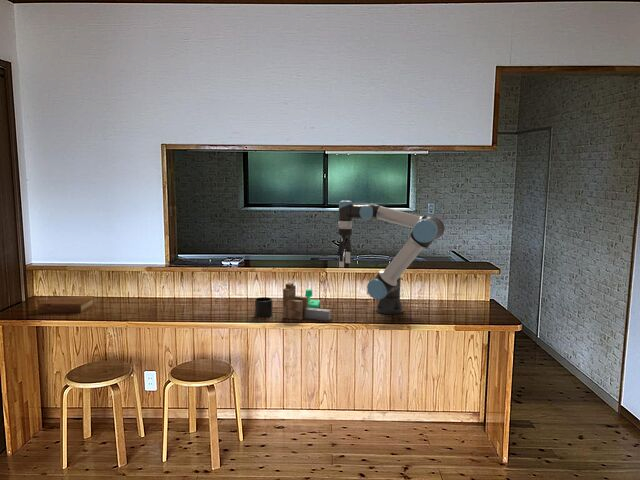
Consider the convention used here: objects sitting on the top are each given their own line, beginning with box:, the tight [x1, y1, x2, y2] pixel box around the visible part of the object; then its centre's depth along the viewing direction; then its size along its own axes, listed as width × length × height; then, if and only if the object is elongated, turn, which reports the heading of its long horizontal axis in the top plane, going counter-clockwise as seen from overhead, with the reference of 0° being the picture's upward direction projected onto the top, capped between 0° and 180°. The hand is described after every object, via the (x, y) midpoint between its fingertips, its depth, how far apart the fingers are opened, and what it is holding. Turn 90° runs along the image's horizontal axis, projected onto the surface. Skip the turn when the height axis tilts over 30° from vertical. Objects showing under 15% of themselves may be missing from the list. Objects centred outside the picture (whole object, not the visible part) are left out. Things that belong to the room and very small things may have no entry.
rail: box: [303, 307, 332, 321], centre depth 277 cm, size 20×4×7 cm, turn 72°
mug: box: [254, 297, 273, 318], centre depth 282 cm, size 9×12×9 cm
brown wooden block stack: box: [282, 282, 309, 321], centre depth 279 cm, size 10×11×18 cm
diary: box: [38, 295, 95, 314], centre depth 292 cm, size 23×19×6 cm
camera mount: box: [304, 289, 321, 309], centre depth 300 cm, size 12×8×10 cm, turn 171°
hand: (344, 265), depth 289 cm, fingers open, 13 cm apart
